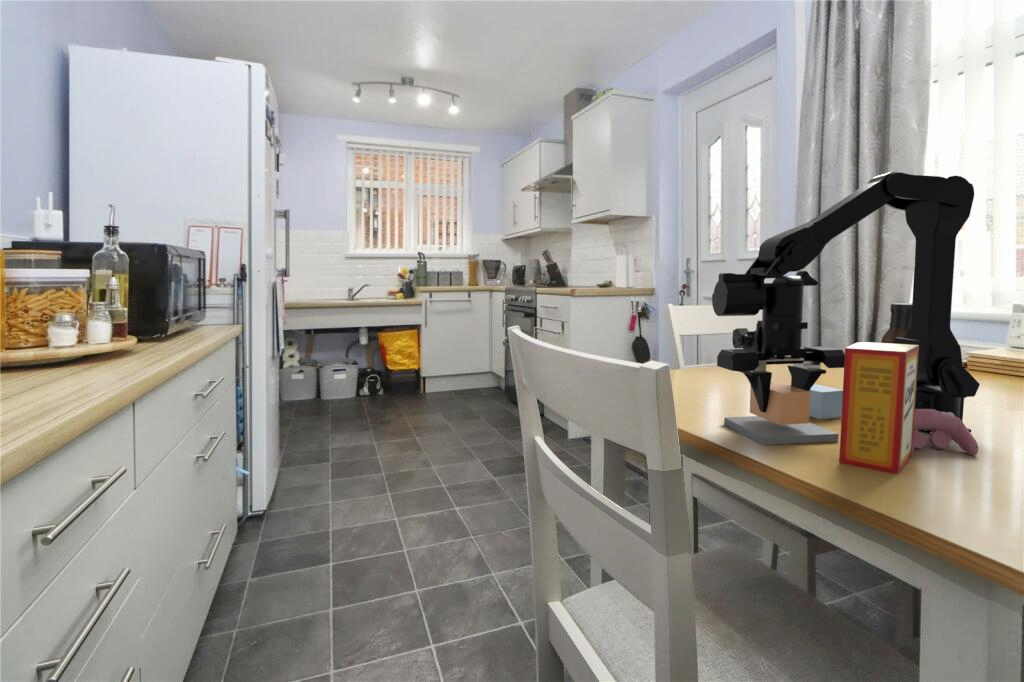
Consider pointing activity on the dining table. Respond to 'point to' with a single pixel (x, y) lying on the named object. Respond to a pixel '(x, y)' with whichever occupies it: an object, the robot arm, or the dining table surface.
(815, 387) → the brick top
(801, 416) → the brick bottom
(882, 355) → the baking soda box
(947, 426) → the video game controller
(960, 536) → the dining table surface
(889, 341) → the sauce bottle
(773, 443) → the baseplate
